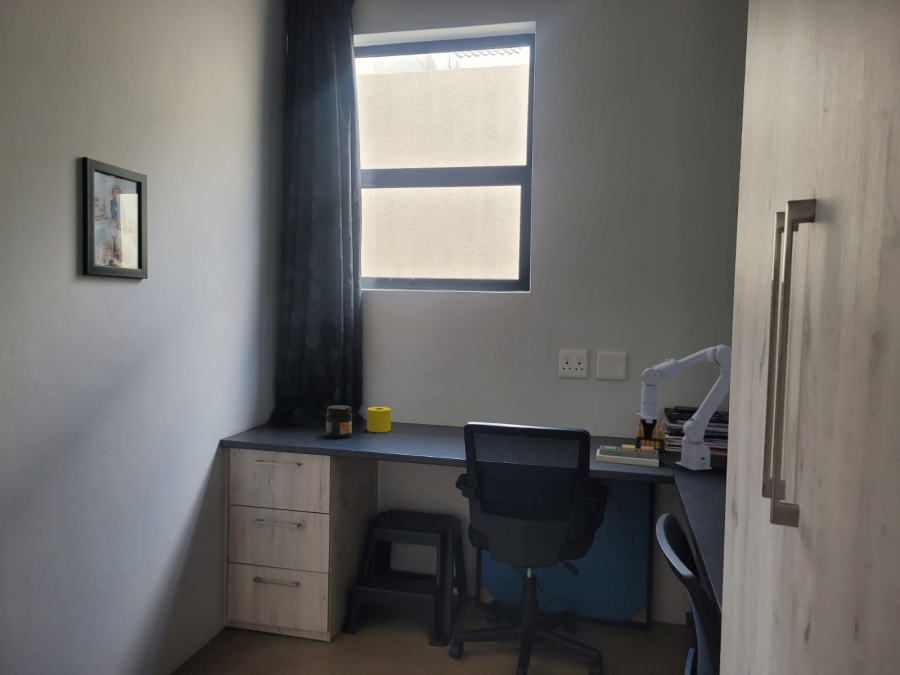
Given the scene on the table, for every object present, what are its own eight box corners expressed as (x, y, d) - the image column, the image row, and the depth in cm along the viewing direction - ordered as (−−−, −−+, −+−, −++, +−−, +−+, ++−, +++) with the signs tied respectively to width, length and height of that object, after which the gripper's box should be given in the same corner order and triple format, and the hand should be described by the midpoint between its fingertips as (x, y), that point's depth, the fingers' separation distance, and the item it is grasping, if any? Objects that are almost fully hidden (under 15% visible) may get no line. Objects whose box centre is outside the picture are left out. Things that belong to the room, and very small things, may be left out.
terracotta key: (653, 452, 220) (653, 447, 220) (654, 454, 216) (654, 449, 216) (640, 451, 221) (641, 446, 221) (641, 453, 217) (641, 448, 217)
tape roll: (392, 432, 258) (392, 410, 258) (368, 433, 256) (368, 411, 256) (388, 428, 268) (389, 406, 268) (366, 428, 266) (366, 407, 265)
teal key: (616, 451, 224) (616, 446, 224) (615, 454, 219) (616, 449, 219) (603, 450, 225) (603, 445, 225) (603, 453, 221) (603, 448, 221)
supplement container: (356, 436, 249) (357, 407, 248) (334, 440, 242) (334, 410, 241) (342, 432, 257) (343, 404, 256) (320, 435, 250) (321, 406, 249)
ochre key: (634, 450, 222) (634, 445, 222) (634, 453, 218) (635, 448, 217) (622, 449, 223) (622, 444, 223) (622, 452, 219) (622, 447, 219)
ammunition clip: (635, 449, 239) (636, 418, 238) (636, 448, 240) (637, 418, 240) (664, 452, 234) (665, 421, 234) (665, 451, 236) (666, 420, 235)
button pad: (657, 459, 223) (657, 449, 223) (658, 466, 212) (659, 455, 212) (597, 454, 229) (597, 444, 229) (595, 461, 218) (596, 450, 218)
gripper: (637, 398, 226) (635, 434, 226) (637, 404, 212) (636, 442, 212) (657, 399, 224) (656, 436, 224) (659, 405, 210) (657, 444, 210)
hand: (647, 439), depth 218 cm, fingers closed
